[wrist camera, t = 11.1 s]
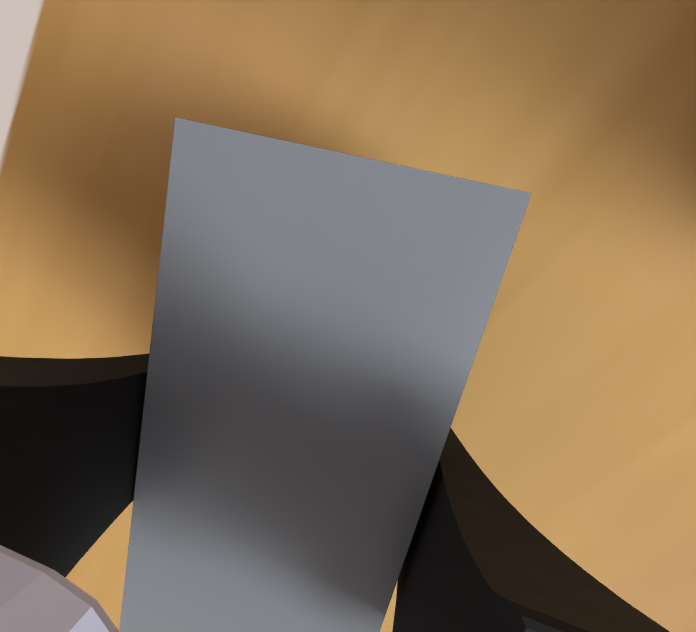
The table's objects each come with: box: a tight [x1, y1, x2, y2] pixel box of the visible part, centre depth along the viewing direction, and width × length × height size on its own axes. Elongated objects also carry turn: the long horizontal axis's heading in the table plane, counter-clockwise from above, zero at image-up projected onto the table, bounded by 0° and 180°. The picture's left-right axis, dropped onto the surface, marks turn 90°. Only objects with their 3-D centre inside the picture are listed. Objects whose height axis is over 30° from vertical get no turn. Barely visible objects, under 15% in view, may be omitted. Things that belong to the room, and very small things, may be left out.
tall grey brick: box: [119, 117, 531, 632], centre depth 10 cm, size 6×13×6 cm, turn 166°
